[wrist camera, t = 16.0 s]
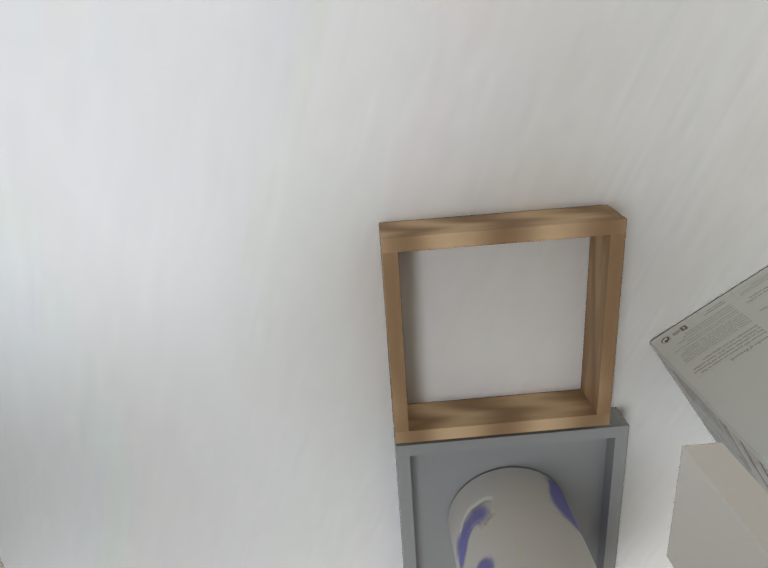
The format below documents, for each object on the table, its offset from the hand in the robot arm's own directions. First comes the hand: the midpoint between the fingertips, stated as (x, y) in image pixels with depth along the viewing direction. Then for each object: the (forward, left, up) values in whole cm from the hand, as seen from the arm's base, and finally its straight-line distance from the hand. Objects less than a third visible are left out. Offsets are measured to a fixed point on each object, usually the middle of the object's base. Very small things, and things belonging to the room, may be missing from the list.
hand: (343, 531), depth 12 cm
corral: (+10, -12, -33) cm, 36 cm away
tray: (+11, -30, -33) cm, 46 cm away
